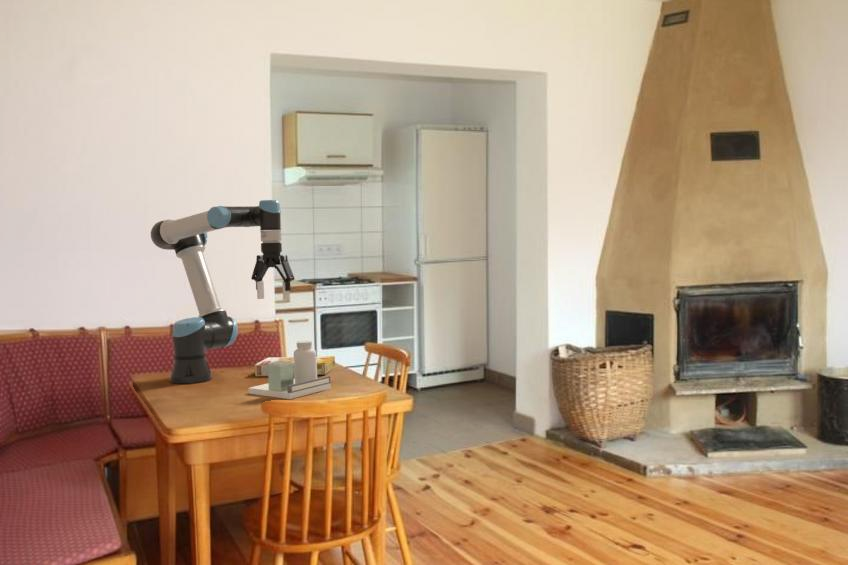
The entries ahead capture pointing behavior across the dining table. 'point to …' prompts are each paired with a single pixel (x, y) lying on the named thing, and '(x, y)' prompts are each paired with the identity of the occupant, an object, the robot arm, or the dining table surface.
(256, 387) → the flat white tray
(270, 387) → the tea tin
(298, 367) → the pill bottle
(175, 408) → the dining table surface
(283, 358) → the cereal box
